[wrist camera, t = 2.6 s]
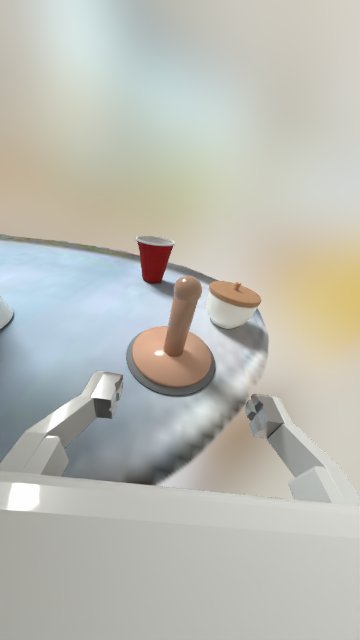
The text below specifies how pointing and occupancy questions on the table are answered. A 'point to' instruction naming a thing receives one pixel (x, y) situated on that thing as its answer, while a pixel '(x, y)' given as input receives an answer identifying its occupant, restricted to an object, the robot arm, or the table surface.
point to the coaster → (164, 389)
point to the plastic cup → (154, 256)
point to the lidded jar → (230, 304)
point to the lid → (174, 343)
